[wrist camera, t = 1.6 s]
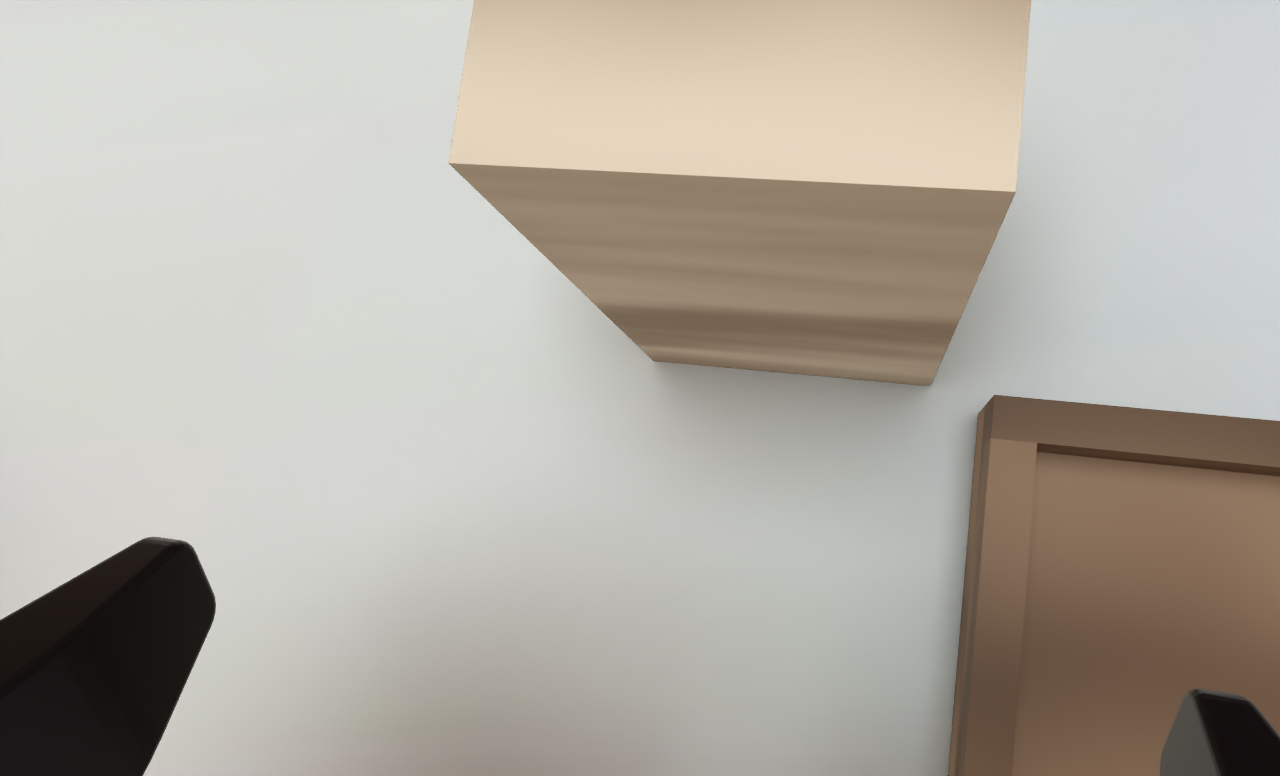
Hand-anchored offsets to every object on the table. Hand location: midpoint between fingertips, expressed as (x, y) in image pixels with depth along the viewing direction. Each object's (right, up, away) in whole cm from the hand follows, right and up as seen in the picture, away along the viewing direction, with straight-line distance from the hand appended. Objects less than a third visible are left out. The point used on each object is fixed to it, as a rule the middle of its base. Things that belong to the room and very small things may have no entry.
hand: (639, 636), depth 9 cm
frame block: (+4, +5, +13) cm, 15 cm away
